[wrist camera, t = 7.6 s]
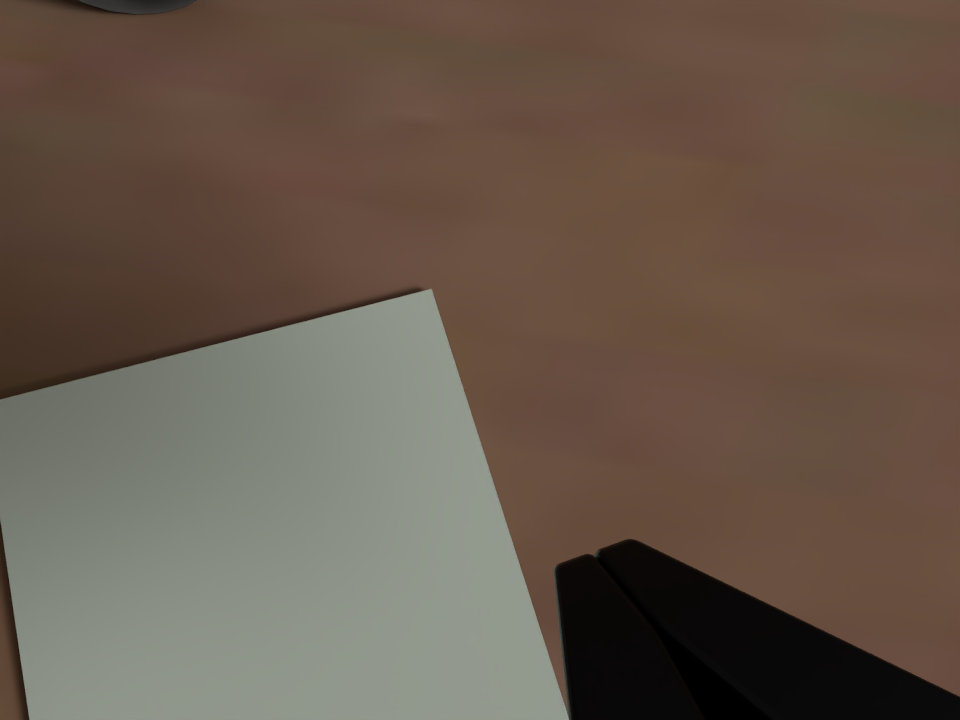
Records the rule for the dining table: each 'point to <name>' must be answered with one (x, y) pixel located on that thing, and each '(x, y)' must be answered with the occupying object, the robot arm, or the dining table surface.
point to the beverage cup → (139, 5)
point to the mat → (269, 536)
